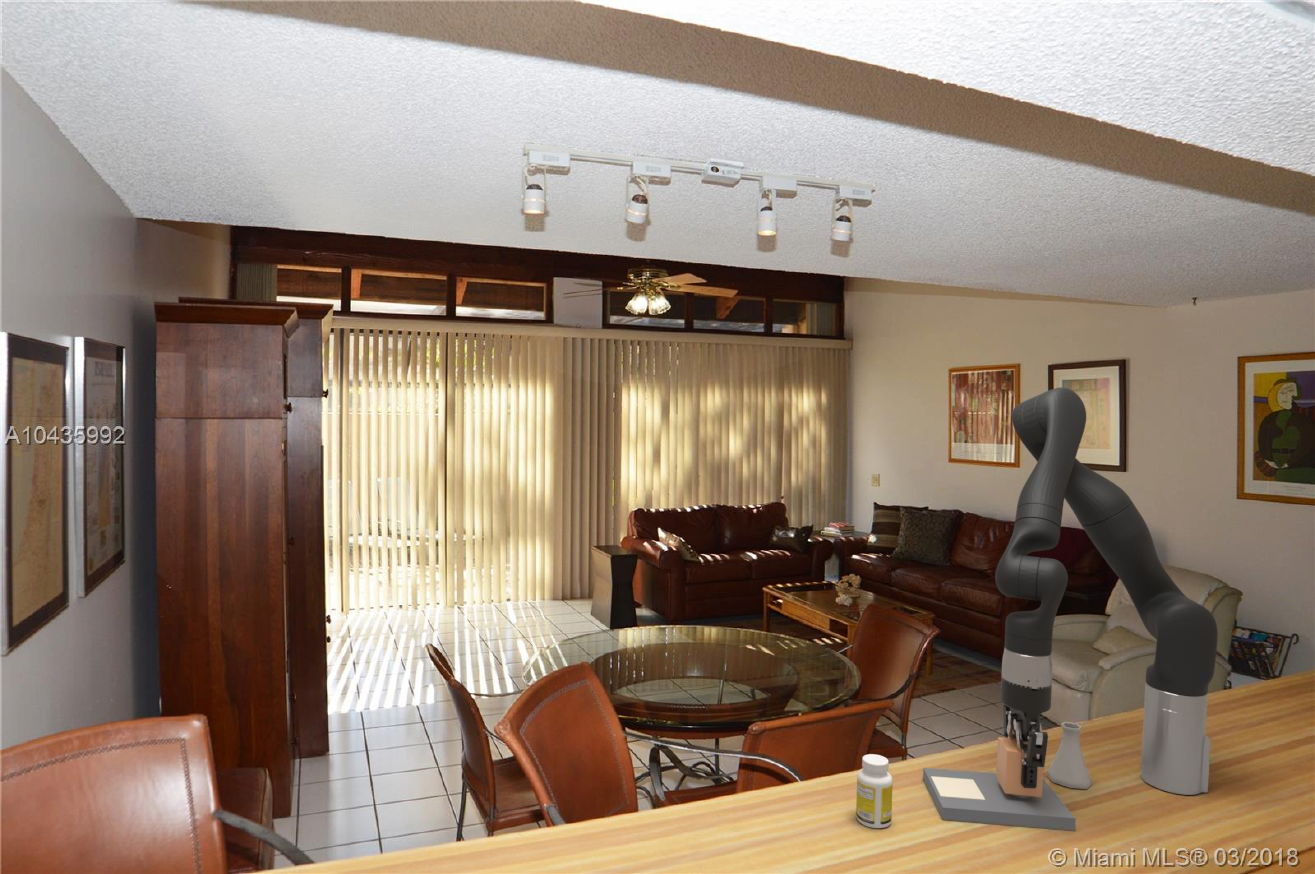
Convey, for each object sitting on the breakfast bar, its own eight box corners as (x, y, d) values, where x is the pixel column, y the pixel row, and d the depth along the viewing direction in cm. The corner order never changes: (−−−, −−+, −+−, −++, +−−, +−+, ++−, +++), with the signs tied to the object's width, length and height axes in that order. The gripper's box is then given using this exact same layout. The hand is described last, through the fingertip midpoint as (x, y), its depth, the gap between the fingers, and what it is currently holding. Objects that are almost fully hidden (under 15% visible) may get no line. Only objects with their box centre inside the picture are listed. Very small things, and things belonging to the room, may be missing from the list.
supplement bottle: (887, 813, 128) (890, 753, 127) (894, 831, 122) (896, 768, 122) (853, 810, 128) (855, 750, 128) (858, 828, 123) (860, 766, 122)
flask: (1090, 776, 143) (1093, 722, 142) (1093, 794, 136) (1096, 736, 136) (1045, 768, 146) (1048, 714, 145) (1046, 784, 139) (1049, 728, 139)
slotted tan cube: (996, 777, 134) (998, 735, 134) (1031, 781, 133) (1033, 738, 133) (1005, 793, 129) (1007, 749, 129) (1041, 797, 128) (1044, 752, 128)
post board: (1041, 788, 138) (1044, 737, 137) (1074, 831, 124) (1077, 774, 123) (922, 778, 140) (925, 728, 139) (942, 819, 126) (944, 764, 126)
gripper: (989, 662, 138) (985, 757, 138) (1017, 691, 124) (1012, 797, 124) (1034, 664, 137) (1030, 760, 138) (1068, 694, 123) (1063, 801, 123)
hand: (1021, 777), depth 131 cm, fingers closed on slotted tan cube, 5 cm apart
